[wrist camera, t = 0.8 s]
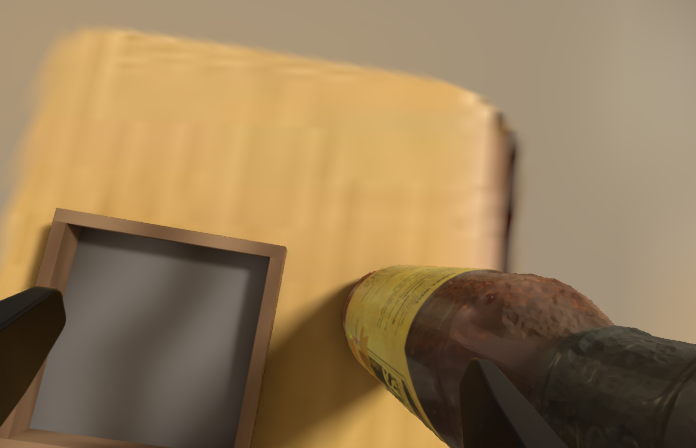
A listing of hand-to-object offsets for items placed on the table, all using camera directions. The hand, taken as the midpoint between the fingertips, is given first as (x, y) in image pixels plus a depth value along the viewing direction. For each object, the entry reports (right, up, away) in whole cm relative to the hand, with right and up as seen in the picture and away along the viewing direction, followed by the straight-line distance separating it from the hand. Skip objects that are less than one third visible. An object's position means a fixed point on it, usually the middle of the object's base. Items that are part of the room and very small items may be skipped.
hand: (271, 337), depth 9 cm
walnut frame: (-9, -4, +15) cm, 18 cm away
